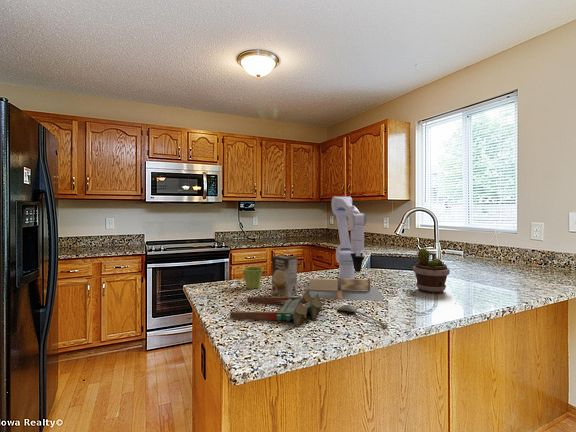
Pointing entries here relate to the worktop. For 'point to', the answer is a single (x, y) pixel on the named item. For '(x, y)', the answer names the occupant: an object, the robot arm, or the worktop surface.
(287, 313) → the miniature gate
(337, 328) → the worktop surface
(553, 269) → the worktop surface
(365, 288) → the tan wooden plank
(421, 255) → the flowerpot
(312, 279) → the board
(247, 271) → the plant pot
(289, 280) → the coffee box
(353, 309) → the soupspoon
